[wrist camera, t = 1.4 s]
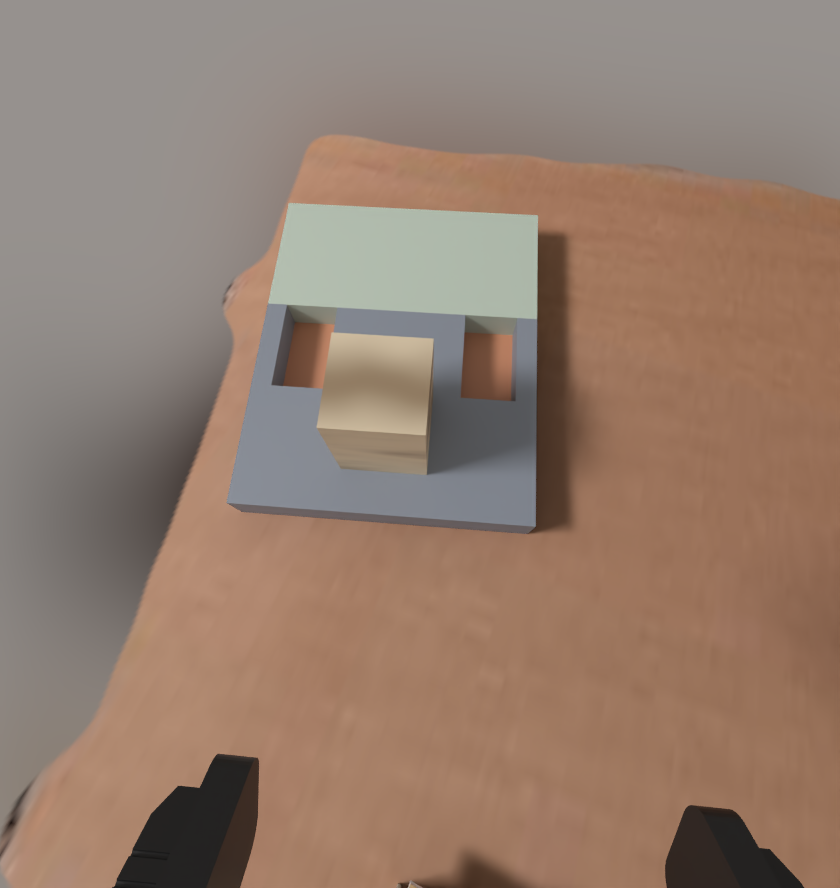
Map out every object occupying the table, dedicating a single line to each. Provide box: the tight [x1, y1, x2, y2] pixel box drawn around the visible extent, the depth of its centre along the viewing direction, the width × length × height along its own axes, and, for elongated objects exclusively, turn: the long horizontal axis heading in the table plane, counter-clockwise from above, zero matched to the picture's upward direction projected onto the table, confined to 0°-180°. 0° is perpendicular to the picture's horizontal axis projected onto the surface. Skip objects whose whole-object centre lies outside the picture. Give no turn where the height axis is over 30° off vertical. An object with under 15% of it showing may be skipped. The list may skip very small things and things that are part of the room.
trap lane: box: [227, 203, 538, 534], centre depth 40 cm, size 26×21×3 cm
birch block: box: [317, 332, 434, 475], centre depth 32 cm, size 6×6×8 cm
